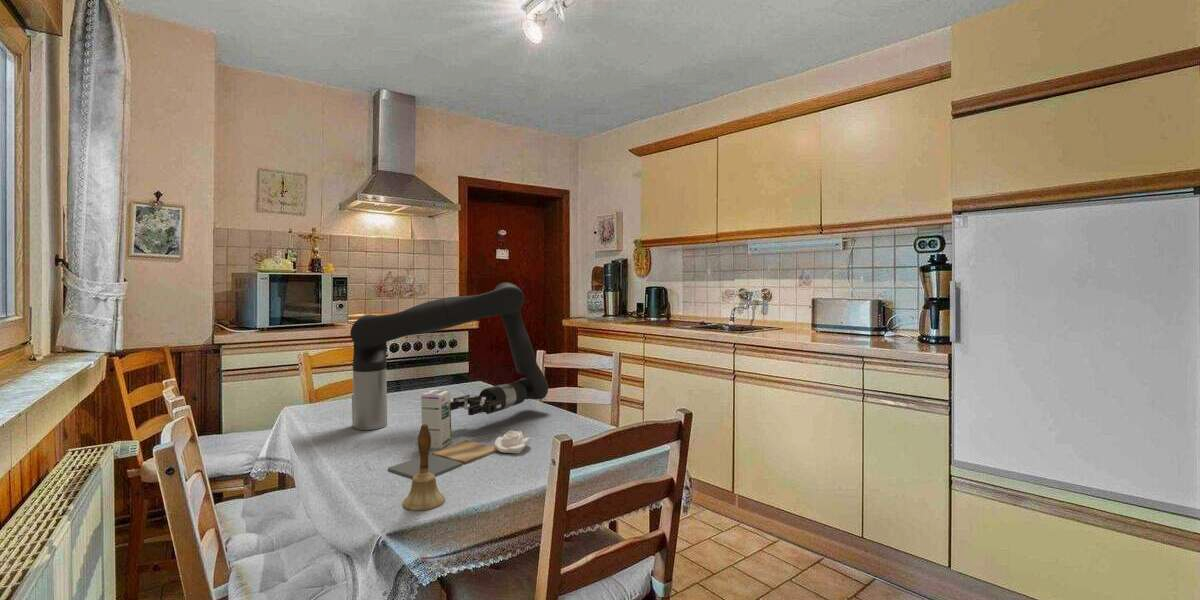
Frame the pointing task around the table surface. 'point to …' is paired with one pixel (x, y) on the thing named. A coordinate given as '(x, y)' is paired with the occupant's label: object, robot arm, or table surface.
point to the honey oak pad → (465, 451)
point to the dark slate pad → (434, 462)
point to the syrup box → (437, 416)
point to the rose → (511, 442)
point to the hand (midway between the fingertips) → (458, 409)
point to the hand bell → (423, 479)
